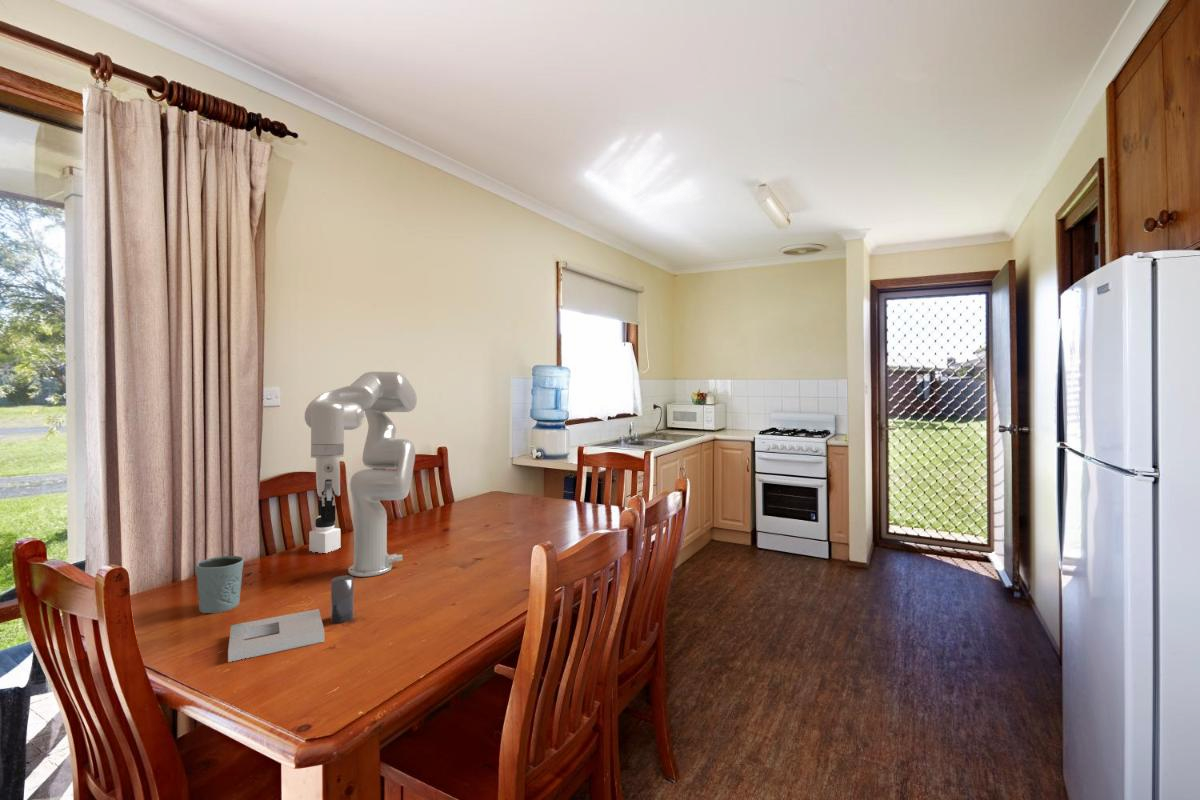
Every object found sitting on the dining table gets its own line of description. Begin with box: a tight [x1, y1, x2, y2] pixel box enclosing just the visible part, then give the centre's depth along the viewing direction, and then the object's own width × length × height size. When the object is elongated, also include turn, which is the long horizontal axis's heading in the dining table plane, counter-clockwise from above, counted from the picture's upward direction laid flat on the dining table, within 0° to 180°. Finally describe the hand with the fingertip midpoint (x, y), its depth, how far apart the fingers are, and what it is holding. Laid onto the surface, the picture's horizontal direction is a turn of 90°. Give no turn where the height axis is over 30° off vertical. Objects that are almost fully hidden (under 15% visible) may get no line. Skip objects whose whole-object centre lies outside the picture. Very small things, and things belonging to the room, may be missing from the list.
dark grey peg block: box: [330, 575, 354, 624], centre depth 135 cm, size 5×5×10 cm
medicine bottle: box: [308, 515, 342, 554], centre depth 190 cm, size 7×7×12 cm
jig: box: [227, 608, 325, 663], centre depth 124 cm, size 18×14×2 cm
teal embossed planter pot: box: [195, 555, 245, 614], centre depth 141 cm, size 10×10×12 cm
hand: (326, 518), depth 138 cm, fingers open, 9 cm apart
